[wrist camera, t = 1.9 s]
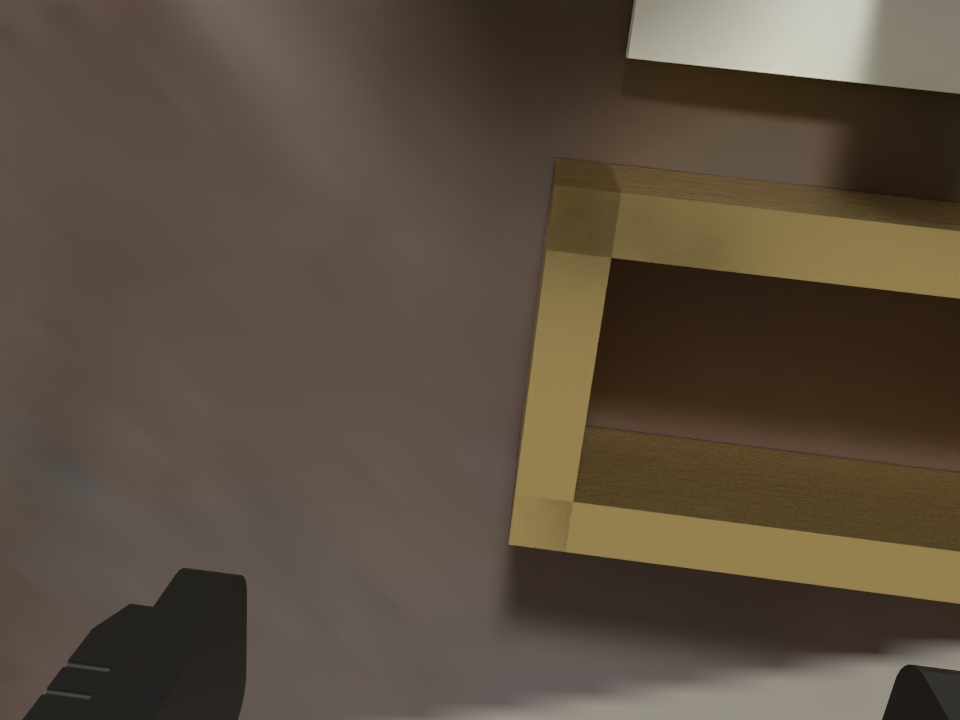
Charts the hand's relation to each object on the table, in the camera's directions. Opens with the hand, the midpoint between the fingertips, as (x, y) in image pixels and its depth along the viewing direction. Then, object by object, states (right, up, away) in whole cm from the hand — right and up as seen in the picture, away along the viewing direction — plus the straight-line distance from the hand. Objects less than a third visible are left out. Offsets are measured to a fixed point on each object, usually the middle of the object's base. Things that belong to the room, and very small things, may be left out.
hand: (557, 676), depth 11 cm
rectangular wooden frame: (+8, +4, +13) cm, 16 cm away
